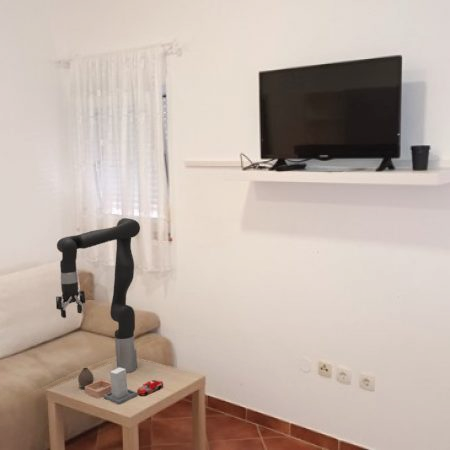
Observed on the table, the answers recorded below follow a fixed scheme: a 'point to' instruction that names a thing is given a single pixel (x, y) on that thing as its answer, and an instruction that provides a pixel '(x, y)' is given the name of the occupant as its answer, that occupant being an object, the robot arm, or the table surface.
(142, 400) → the table surface
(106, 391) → the holder
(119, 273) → the robot arm
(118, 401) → the tray
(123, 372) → the skincare box
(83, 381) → the vase
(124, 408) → the table surface
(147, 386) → the race car
